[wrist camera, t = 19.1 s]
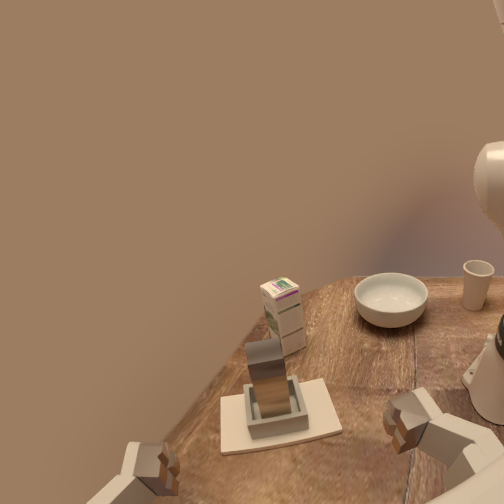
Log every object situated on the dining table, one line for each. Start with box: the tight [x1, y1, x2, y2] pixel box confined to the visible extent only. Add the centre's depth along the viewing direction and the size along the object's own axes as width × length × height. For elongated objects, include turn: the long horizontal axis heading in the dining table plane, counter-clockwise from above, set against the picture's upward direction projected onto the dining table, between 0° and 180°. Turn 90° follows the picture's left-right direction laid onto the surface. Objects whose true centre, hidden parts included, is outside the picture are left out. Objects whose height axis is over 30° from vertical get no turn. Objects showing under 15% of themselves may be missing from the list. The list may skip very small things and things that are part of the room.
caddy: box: [221, 375, 342, 455], centre depth 40 cm, size 12×18×5 cm, turn 95°
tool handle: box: [245, 337, 292, 419], centre depth 39 cm, size 4×4×14 cm
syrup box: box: [260, 277, 306, 357], centre depth 56 cm, size 6×6×14 cm
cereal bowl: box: [354, 273, 428, 328], centre depth 59 cm, size 17×17×7 cm
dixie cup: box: [463, 260, 494, 311], centre depth 53 cm, size 8×8×10 cm
